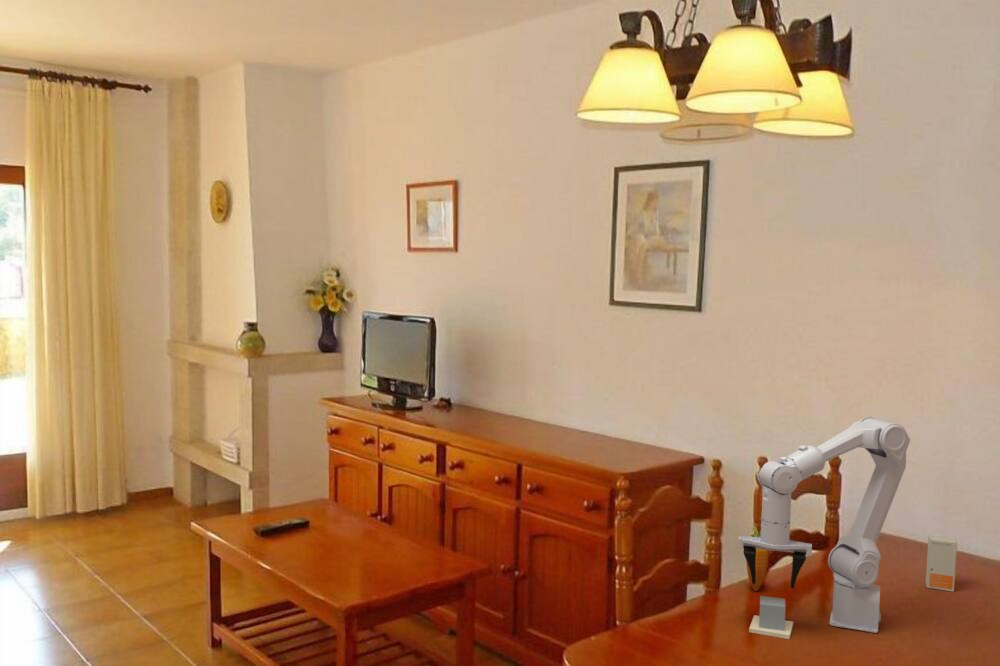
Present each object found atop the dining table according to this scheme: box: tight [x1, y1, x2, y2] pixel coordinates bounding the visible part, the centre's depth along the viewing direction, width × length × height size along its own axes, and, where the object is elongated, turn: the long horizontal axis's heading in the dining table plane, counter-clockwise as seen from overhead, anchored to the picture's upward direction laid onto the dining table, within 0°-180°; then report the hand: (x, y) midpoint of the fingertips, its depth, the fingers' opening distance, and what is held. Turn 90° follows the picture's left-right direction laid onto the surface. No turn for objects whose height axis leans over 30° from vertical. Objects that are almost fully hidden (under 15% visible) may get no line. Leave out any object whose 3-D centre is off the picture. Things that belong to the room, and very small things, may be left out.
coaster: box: [748, 614, 794, 640], centre depth 185 cm, size 8×8×1 cm
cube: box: [759, 595, 786, 631], centre depth 185 cm, size 5×5×5 cm
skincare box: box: [925, 535, 958, 593], centre depth 213 cm, size 6×4×12 cm
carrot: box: [745, 526, 769, 592], centre depth 208 cm, size 5×5×15 cm
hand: (773, 584), depth 185 cm, fingers open, 7 cm apart
